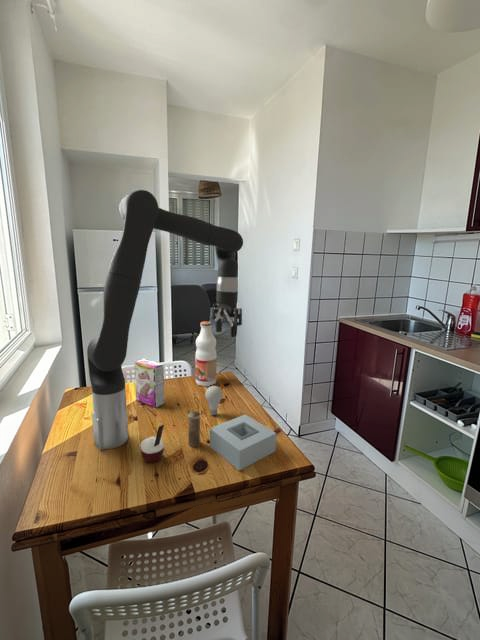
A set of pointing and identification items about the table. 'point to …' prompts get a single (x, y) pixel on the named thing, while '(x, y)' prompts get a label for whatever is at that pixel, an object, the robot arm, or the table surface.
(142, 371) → the candy bar box
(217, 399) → the lightbulb
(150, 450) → the cocoa
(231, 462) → the socket block
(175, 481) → the table surface
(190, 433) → the dowel
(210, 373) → the fruit juice
